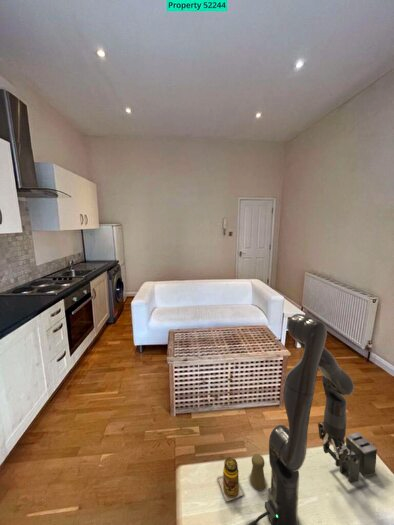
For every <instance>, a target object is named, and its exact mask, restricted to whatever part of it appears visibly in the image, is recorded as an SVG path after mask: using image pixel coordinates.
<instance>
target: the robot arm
mask: <svg viewBox="0 0 394 525" xmlns="http://www.w3.org/2000/svg"><path fill="white" fill-rule="evenodd" d="M287 332H288V334H289V335H290V337H292V338H293V339H294V340H295V341H296V343H298V344H299V345H300V346H301V348H302V349H303V354H302V357H301V359H300V360H299V362H298V363H296V364H295V365H294V366H293V367H292V368H291V369H290V370H289V371H288V372H287V373H286V375H285V378H284V384H283V390H282V399H283V405H284V409H285V413H286V417H287V422H288V427H287V426H286V425H284V424H279V425H276V426H275V427H274V428H273V429H272V430H271V432H270V434H269V438H268V439H269V440H268V458H269V459H268V462H269V466H270V469H271V471H270V472H271V473H270V487H269V488H268V490H267V491H268V496H267V500H266V501H264V509H265V512H263V513H262V514H260V515H259V516H258V517H256V519H255V520H253V521H251V522H250V523H249V524H248V525H256V524H258V523H259V522H260V520H262V519H263V518H265V517H267V516H268V517H269V520H270V522H271V524H272V525H298V524H299V521H298V520H299V519H298V517H299V516H298V514H299V511H298V510H299V491H300V490H299V489H300V471H299V470H301V468H302V467H303V466H304V463H305V460H306V455H307V450H308V449H307V448H308V434H309V433H308V431H309V423H310V416H311V411H312V405H313V401H314V395H315V388H316V381H317V375H318V371H320V373H321V375H322V376H321V382H322V386H323V392H324V395H325V406H324V410H323V422H319V423H317V427H318V428H317V429H318V435H319V436H318V437H319V438H320V440H322V443H323V445H322V449H323V452H324V454H329V453H328V452H327V450H326V447H329V448H330V445H332V447H333V452H336V460H335V463H334V464H335V467H336V468H340V466H342V462H345V461H348V460H349V457H350V455H351V452H352V451H351V449H350V448H347V447H346V441H345V438H346V432H347V408H348V407H347V406H348V403H347V400H346V398H345V397H344V396H346V397H347V396H351V395H352V394H353V393H354V390H355V384H354V380H353V379H352V378H351V376H350V375H349V374H348V373H347V372H346V371H345V370H344V369H343V368H342V367H340V365H339V364H338V361H337V359H336V358H335V356H334V355H333V354H332V353H331V351H329V350H328V349H327V348H326V347H325V345H326V340H327V335H328V329H327V326H326V324H325V323H324V322H323V321H322V320H319V319H316V318H314V317H311V316H308V315H305V314H302V313H296V314H293V315H292V316H291V317H290V318H289V319H288V322H287ZM339 452H340V454H339Z"/></svg>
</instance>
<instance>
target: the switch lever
mask: <svg viewBox="0 0 394 525" xmlns="http://www.w3.org/2000/svg"><path fill="white" fill-rule="evenodd" d="M326 450H327V452H328V453H327V454H329V455H330V456H331V457H332V458H333V459H334V460H335V461H336V452H335V451H334V450H332V449H331V448H330V447H326ZM339 454H340V452H339ZM351 455H354V453H353V452H351ZM351 455H350V456H351ZM349 460H350V457H349Z"/></svg>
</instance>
